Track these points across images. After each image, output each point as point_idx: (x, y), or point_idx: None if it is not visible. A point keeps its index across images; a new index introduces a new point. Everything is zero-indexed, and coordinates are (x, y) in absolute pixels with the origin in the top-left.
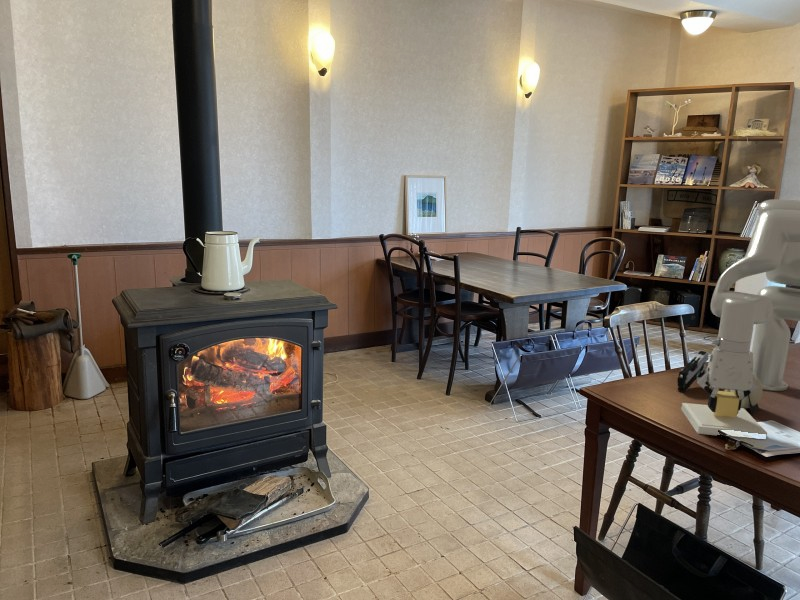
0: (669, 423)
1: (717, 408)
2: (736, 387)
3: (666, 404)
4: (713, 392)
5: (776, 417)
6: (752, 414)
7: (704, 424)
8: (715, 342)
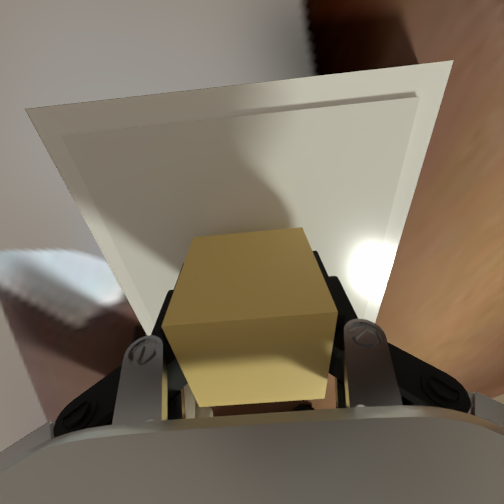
0: (497, 170)
1: (309, 250)
2: (173, 465)
3: (391, 336)
4: (378, 359)
5: (65, 344)
6: (133, 338)
7: (403, 100)
8: None
